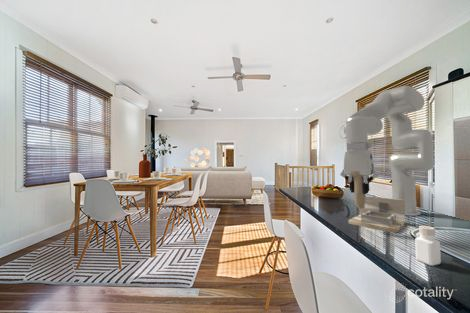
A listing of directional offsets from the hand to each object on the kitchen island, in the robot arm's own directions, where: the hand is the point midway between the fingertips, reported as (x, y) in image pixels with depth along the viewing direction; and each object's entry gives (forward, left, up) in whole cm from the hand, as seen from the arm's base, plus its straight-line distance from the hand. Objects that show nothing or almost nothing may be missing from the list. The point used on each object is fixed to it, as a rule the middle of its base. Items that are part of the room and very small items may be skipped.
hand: (359, 192), depth 84 cm
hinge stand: (-13, +2, -15) cm, 20 cm away
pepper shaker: (+16, +22, -15) cm, 31 cm away
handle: (0, 0, -6) cm, 6 cm away
